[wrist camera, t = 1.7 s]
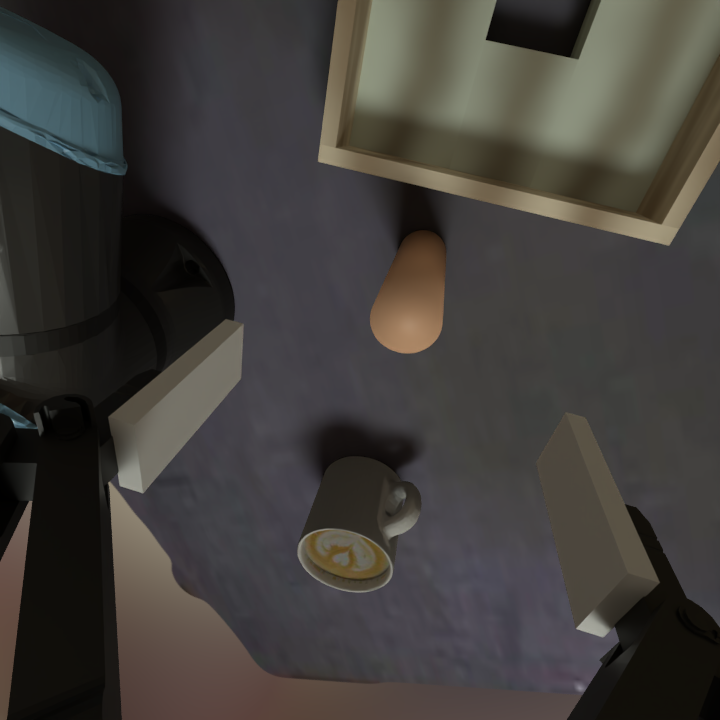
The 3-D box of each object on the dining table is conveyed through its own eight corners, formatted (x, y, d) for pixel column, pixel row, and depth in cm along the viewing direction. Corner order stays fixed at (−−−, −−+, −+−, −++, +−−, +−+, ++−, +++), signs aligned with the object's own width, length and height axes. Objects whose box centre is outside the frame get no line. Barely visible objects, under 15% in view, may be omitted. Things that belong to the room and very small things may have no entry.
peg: (393, 270, 36) (363, 342, 24) (405, 224, 34) (378, 278, 22) (438, 282, 35) (430, 361, 23) (452, 236, 33) (452, 297, 21)
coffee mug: (345, 521, 53) (325, 596, 45) (309, 466, 50) (279, 536, 41) (443, 503, 48) (441, 584, 40) (411, 441, 45) (401, 515, 36)
